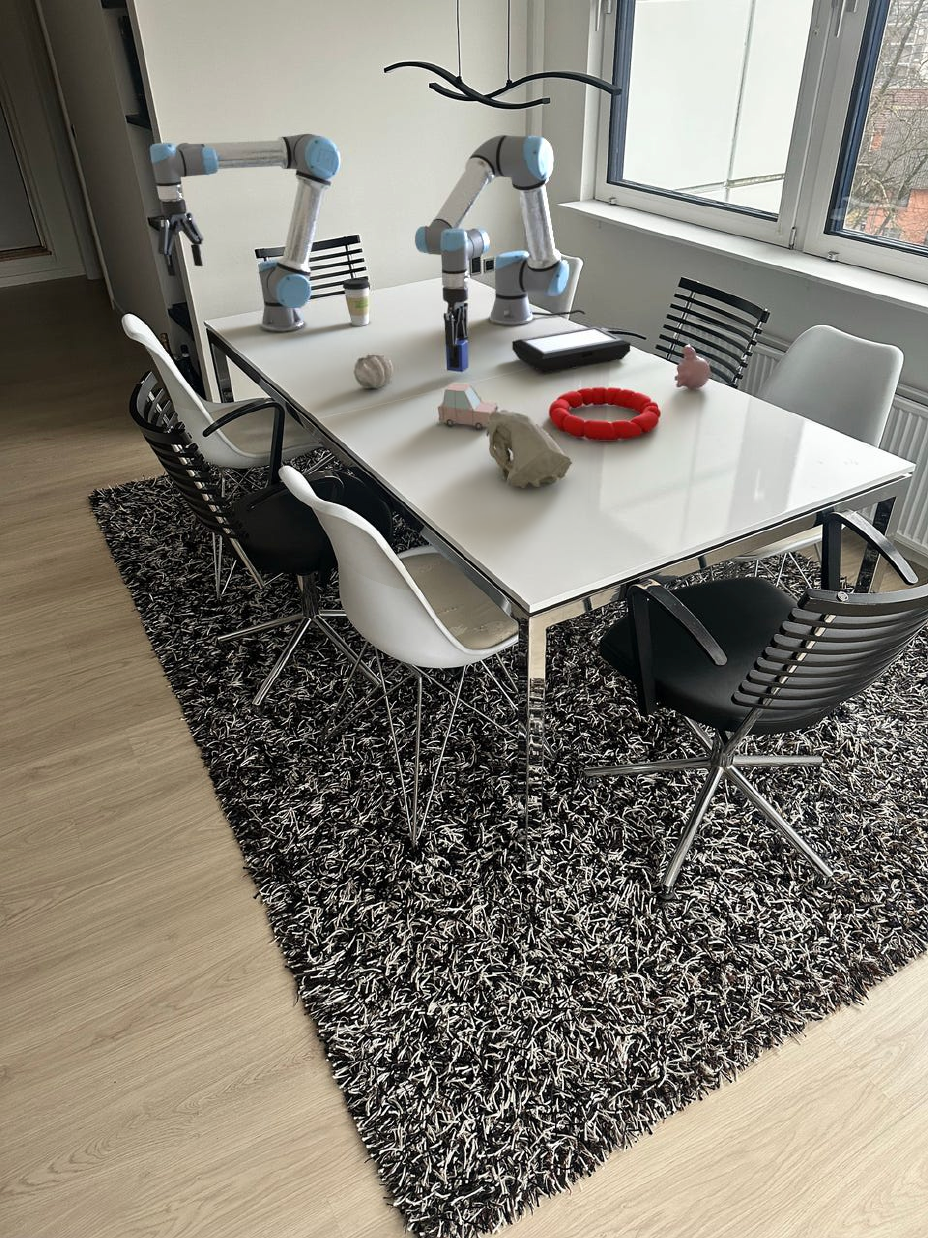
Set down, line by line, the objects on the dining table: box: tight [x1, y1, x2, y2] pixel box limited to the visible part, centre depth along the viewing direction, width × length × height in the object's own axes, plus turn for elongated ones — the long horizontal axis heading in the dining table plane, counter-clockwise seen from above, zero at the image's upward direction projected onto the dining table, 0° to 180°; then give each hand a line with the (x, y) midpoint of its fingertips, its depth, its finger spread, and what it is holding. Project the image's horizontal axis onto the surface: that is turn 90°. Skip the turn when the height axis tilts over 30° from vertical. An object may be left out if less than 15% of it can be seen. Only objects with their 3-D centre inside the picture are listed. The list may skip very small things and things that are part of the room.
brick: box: [445, 339, 469, 373], centre depth 274 cm, size 5×5×8 cm
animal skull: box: [485, 409, 573, 489], centre depth 216 cm, size 17×25×20 cm
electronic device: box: [511, 326, 631, 374], centre depth 286 cm, size 32×6×20 cm
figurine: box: [674, 344, 711, 390], centre depth 259 cm, size 9×11×12 cm
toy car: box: [437, 382, 499, 431], centre depth 243 cm, size 9×15×10 cm, turn 70°
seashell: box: [353, 354, 394, 389], centre depth 268 cm, size 10×15×10 cm
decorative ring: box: [548, 386, 661, 442], centre depth 242 cm, size 7×30×30 cm
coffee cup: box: [342, 277, 371, 327], centre depth 323 cm, size 10×10×15 cm
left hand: (186, 270), depth 289 cm, fingers open, 13 cm apart
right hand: (457, 363), depth 275 cm, fingers closed on brick, 5 cm apart
